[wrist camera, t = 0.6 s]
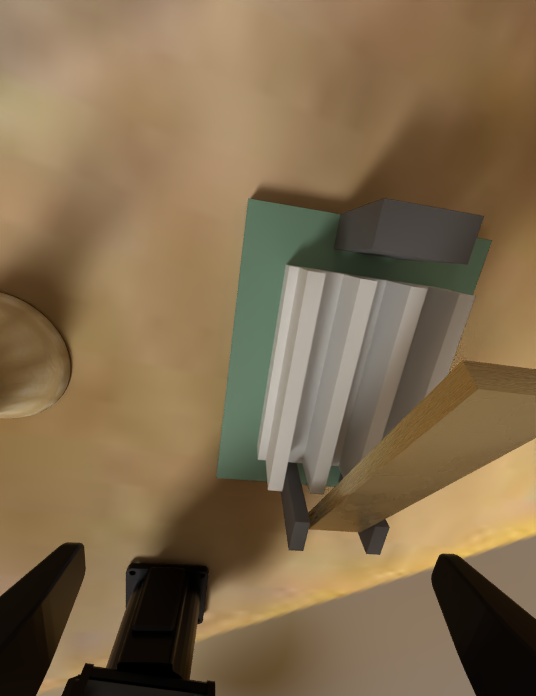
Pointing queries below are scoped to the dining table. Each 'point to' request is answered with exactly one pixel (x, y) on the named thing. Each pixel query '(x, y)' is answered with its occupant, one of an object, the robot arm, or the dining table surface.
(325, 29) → the dining table surface
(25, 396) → the hand bell
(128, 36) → the dining table surface
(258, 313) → the heatsink board
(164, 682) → the robot arm
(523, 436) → the wooden plank
